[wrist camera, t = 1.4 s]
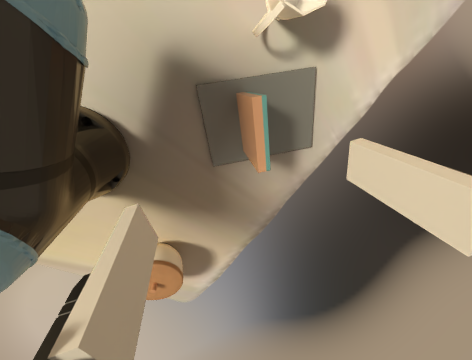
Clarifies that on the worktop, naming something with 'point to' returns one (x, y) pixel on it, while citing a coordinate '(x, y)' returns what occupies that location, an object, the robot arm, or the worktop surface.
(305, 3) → the cup
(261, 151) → the tile
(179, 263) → the lidded jar
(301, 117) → the mat
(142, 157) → the worktop surface
